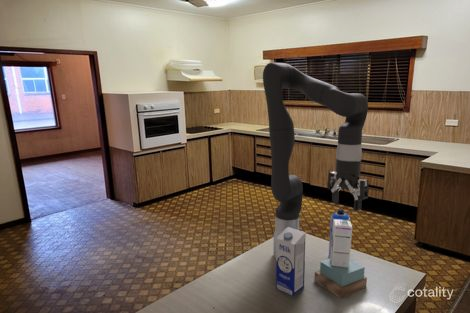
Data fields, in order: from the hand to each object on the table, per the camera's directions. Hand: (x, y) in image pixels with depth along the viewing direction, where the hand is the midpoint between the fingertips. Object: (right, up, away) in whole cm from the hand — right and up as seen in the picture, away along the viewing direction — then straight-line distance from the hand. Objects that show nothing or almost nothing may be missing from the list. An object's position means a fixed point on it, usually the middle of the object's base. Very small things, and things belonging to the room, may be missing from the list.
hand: (345, 206), depth 107 cm
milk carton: (-18, -28, +4) cm, 33 cm away
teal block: (0, -24, +5) cm, 24 cm away
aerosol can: (+5, -24, +23) cm, 34 cm away
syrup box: (-1, -20, +5) cm, 21 cm away
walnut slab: (0, -28, +6) cm, 28 cm away
